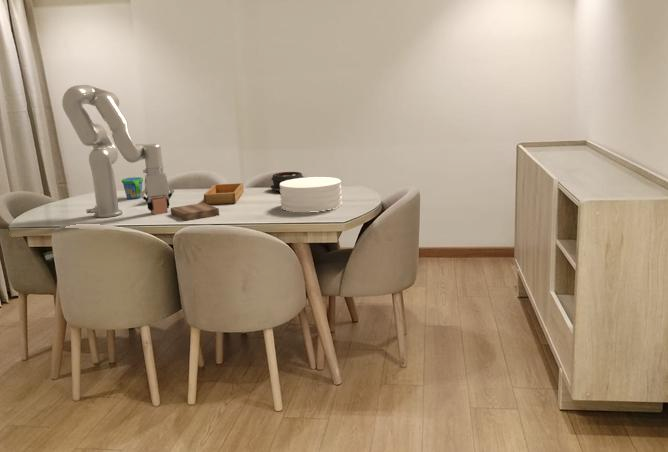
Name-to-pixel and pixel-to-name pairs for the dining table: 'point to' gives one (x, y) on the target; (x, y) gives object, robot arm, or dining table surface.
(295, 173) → the casserole
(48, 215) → the dining table surface
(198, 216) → the walnut base
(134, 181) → the snack cup
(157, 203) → the terracotta block
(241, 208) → the dining table surface
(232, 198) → the tray
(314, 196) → the plate stack
